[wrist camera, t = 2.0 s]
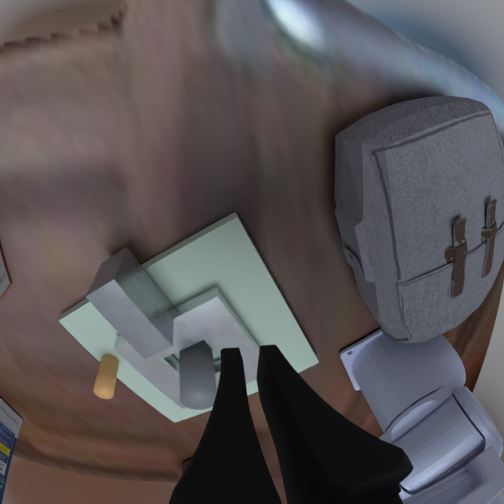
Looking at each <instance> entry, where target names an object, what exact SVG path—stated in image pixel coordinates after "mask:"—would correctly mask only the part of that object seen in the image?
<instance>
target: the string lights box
mask: <svg viewBox="0 0 504 504" xmlns="http://www.w3.org/2000/svg"><path fill="white" fill-rule="evenodd" d="M22 421H23V419H22V418H21V417H20V416H19V415H17V414H16V413H15V412H14V411H13V410H12V409H11V408H10V407H9V406H8V405H7V404H6V403H5V402H4V401H3V400H2V399H1V398H0V504H2V500H3V494H4V489H5V484H6V480H7V475H8V471H9V467H10V462H11V458H12V455H13V451H14V447H15V444H16V440H17V437H18V434H19V430H20V427H21V424H22Z"/></svg>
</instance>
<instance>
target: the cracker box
mask: <svg viewBox="0 0 504 504" xmlns="http://www.w3.org/2000/svg"><path fill="white" fill-rule="evenodd" d="M10 286H11V281H10V278H9V275H8V272H7V269H6V265H5V262H4V258H3V255H2V252H1V248H0V300H1V299H2V297H3V296H4V294H5V293H6V292H7V290H8V289H9V287H10Z"/></svg>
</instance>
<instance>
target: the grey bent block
mask: <svg viewBox="0 0 504 504" xmlns="http://www.w3.org/2000/svg"><path fill="white" fill-rule="evenodd" d="M86 298H87V299H88V300H89V301H90V302H91V303H92V304H93V306H94V307H95V308H96V309H97V310H98V311H99V312H100V313H101V315H102V316H103V317H104V318H105V319H106V320H107V321H108V322H109V323H110V324H111V325H112V326H113V327H114V329H115V330H116V331H117V332H118V333H119V334H120V336H119V337H117V338H116V340H115V344H114V348H113V349H115V350H116V351H117V352H118V353H119V354H120V355H121V356H122V357H123V358H124V359H125V360H126V361H127V362H128V363H129V364H130V365H131V366H132V367H134V368H135V369H136V370H137V371H138V372H139V373H140V374H141V375H142V376H144V377H145V378H146V379H147V380H148V381H149V382H150V383H152V384H153V385H154V386H155V387H156V388H157V389H159V390H160V391H161V392H162V393H163V394H165V395H166V396H167V397H168V398H169V399H171V400H172V401H173V402H174V403H176V404H177V405H178V406H179V407H181V408H182V409H184V408H187V407H185V406H184V405H183V404H182V403H181V402H180V380H179V362H178V361H177V360H176V359H175V358H174V357H173V356H172V354H174V353H176V352H178V351H180V350H183V349H185V348H187V347H189V346H191V345H193V344H196V343H198V342H200V341H202V340H205V341H206V343H207V344H208V345H209V346H210V347H211V348H212V349H213V351H214V352H215V353H216V354H217V355H218V356H219V357H220V350H222V349H223V348H235V347H239V349H240V352H241V355H242V359H243V363H244V372H245V380H246V384H247V383H249V382H252V381H254V380H256V377H257V368H258V358H259V349H260V346H259V345H258V344H257V342H256V341H255V340H254V338H253V337H252V336H251V334H250V333H249V331H248V330H247V329H246V327H245V326H244V325H243V323H242V322H241V320H240V319H239V318H238V316H237V315H236V313H235V312H234V311H233V309H232V308H231V306H230V305H229V304H228V302H227V301H226V299H225V298H224V297H223V295H222V294H221V292H220V291H219V289H218V288H217V287H214V288H212V289H210V290H208V291H206V292H204V293H202V294H200V295H199V296H197V297H195V298H193V299H191V300H189V301H187V302H185V303H183V304H181V305H179V306H177V307H175V308H174V307H173V306H172V304H171V303H170V302H169V301H168V299H167V298H166V297H165V296H164V294H163V293H162V292H161V291H160V289H159V288H158V287H157V286H156V284H155V283H154V282H153V281H152V279H151V278H150V277H149V275H148V274H147V273H146V271H145V270H144V269H143V268H142V266H141V265H140V264H139V262H138V261H137V260H136V258H135V257H134V256H133V254H132V253H131V252H130V250H129V249H128V247H126V248H125V249H123V250H121V251H120V252H118V253H117V254H115V255H114V256H112V257H110V258H109V259H107V260H106V261H104V262H103V263H102V264H101V266H100V268H99V270H98V272H97V274H96V276H95V278H94V280H93V282H92V284H91V286H90V289H89V291H88V293H87V295H86ZM214 370H215V378H216V386H217V388H218V383H219V378H220V371H221V360H219V361H216V362H214Z"/></svg>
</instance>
